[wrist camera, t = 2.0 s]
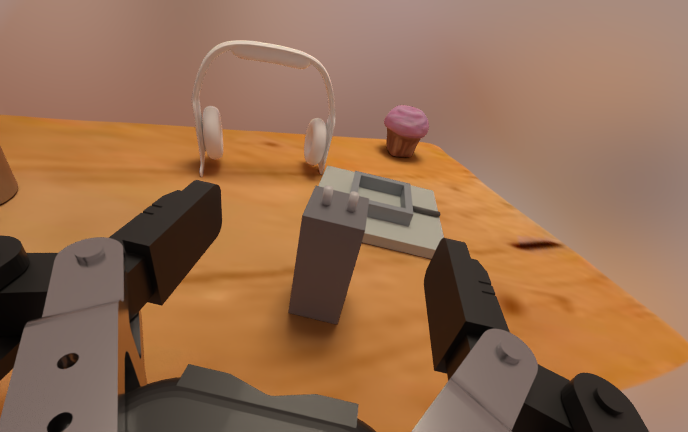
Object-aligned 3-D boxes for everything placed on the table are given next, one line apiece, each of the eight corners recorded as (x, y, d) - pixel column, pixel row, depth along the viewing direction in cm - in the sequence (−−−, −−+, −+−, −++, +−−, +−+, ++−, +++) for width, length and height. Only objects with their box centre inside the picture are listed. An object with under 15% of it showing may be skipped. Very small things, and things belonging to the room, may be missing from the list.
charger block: (288, 312, 28) (304, 198, 21) (300, 277, 32) (318, 170, 25) (337, 324, 28) (370, 214, 21) (344, 287, 32) (373, 183, 25)
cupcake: (386, 161, 61) (401, 111, 56) (371, 143, 68) (383, 97, 62) (424, 163, 64) (442, 116, 59) (406, 146, 71) (421, 102, 65)
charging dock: (302, 228, 39) (306, 205, 37) (325, 173, 52) (329, 154, 50) (442, 261, 39) (453, 240, 37) (430, 198, 52) (437, 180, 50)
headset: (321, 162, 55) (339, 52, 45) (330, 182, 50) (353, 62, 40) (199, 155, 49) (188, 25, 39) (194, 177, 43) (181, 33, 33)
